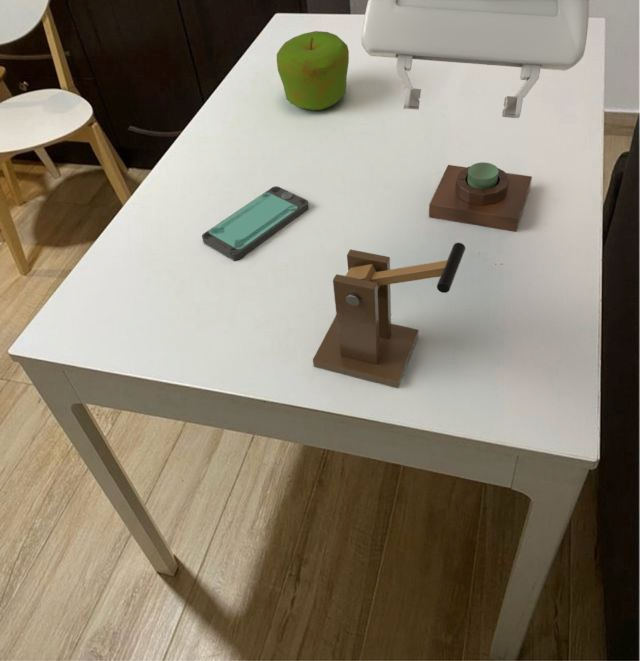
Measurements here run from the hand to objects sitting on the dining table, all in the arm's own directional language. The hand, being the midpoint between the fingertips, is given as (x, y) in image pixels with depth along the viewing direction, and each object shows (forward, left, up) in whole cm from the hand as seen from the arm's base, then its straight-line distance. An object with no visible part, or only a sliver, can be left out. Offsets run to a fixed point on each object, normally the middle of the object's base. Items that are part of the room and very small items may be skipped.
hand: (460, 113), depth 63 cm
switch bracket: (+6, +11, -24) cm, 28 cm away
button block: (0, -20, -24) cm, 31 cm away
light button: (0, -20, -21) cm, 29 cm away
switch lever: (+2, +11, -13) cm, 17 cm away
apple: (+34, -42, -25) cm, 59 cm away
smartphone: (+29, -7, -25) cm, 39 cm away
